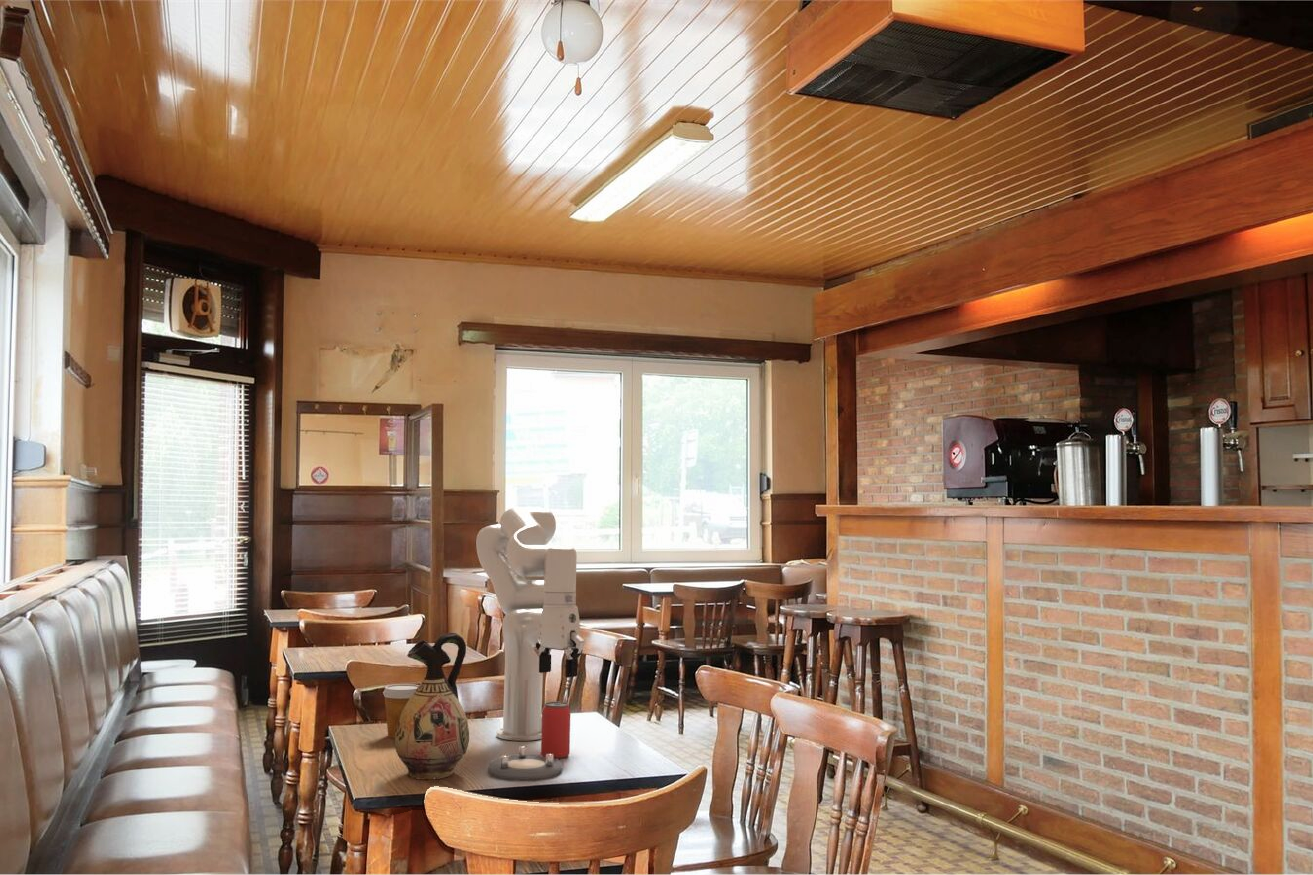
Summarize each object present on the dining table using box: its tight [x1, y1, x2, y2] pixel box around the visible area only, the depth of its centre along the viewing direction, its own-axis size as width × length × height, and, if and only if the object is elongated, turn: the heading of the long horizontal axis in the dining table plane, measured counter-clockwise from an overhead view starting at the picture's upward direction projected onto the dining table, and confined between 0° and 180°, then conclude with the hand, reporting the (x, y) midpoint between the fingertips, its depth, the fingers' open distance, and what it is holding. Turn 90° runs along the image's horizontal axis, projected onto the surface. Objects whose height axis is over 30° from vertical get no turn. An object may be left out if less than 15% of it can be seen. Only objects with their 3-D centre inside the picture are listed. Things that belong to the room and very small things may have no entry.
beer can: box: [540, 701, 571, 760], centre depth 238 cm, size 7×7×12 cm
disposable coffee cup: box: [382, 683, 420, 739], centre depth 256 cm, size 10×10×12 cm
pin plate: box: [487, 754, 563, 782], centre depth 223 cm, size 16×16×2 cm
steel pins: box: [500, 745, 553, 769], centre depth 222 cm, size 10×11×2 cm
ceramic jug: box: [394, 632, 470, 780], centre depth 220 cm, size 17×15×30 cm
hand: (558, 674), depth 238 cm, fingers open, 9 cm apart
